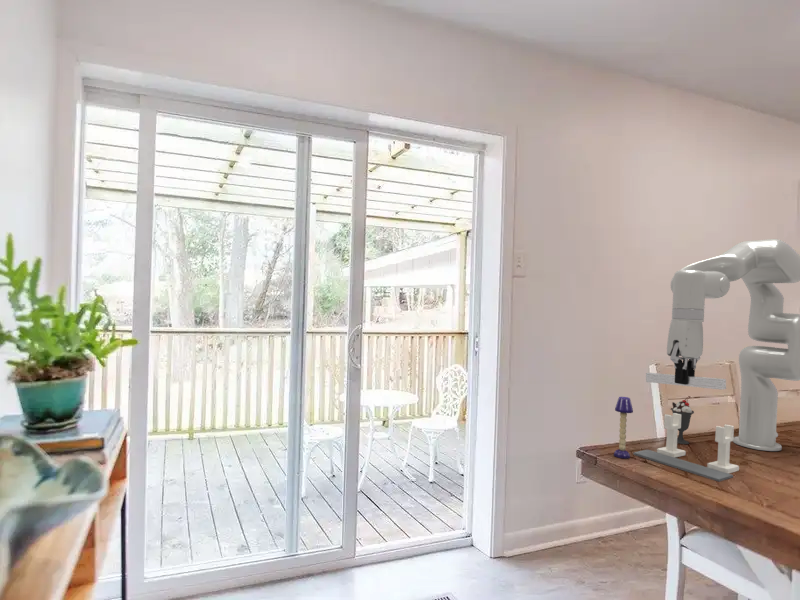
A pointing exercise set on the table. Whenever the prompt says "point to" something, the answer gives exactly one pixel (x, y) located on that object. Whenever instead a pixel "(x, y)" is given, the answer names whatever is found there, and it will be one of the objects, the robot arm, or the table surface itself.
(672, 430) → the rack
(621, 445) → the toy lamp
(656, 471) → the table surface
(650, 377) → the rail
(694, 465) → the mat
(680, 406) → the sundae
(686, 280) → the robot arm
